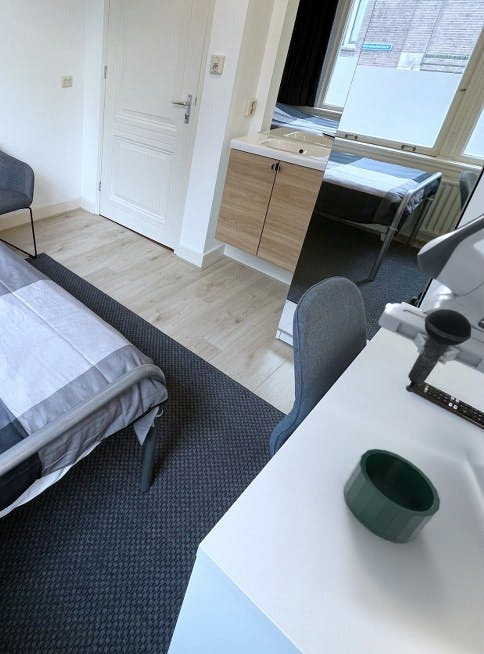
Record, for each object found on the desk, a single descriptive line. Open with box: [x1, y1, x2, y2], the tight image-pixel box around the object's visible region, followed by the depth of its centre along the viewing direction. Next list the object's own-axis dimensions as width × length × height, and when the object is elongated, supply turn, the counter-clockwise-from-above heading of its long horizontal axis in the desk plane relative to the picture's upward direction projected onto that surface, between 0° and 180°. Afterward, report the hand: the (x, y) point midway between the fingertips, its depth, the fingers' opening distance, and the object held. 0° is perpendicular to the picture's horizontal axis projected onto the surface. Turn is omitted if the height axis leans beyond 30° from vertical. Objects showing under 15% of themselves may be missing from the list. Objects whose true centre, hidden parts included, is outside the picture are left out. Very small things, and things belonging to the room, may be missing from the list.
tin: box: [343, 448, 441, 544], centre depth 73 cm, size 12×12×8 cm
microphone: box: [405, 309, 471, 393], centre depth 80 cm, size 7×7×20 cm
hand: (432, 355), depth 80 cm, fingers closed on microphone
